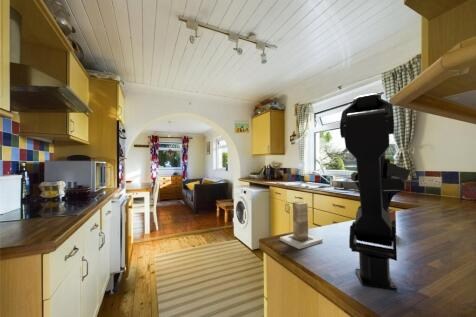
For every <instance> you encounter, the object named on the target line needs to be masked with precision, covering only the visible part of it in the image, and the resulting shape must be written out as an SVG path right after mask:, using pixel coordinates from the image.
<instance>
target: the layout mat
mask: <svg viewBox="0 0 476 317" xmlns="http://www.w3.org/2000/svg"><path fill="white" fill-rule="evenodd" d="M279 241H281V242H283V243H285V244H287V245H289V246H291V247H294V248H295V249H298V250H301V249H304V248H307V247H311V246H314V245H317V244H321V243H323V242H324V241H323V238H321V237H318V236H315V235H312V234H309V233H308V239H304V240H298V239H296V238H294V237H293V233H291V234H287V235H284V236H280V237H279Z"/></svg>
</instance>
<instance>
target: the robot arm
mask: <svg viewBox="0 0 476 317" xmlns="http://www.w3.org/2000/svg"><path fill="white" fill-rule="evenodd" d="M394 115H395V114H394V106H393V104H392V103H390V102H388V101H386V100H385V99H383V98H382V93H378V92H375V93H374V92H373V93H369V94H363V95H358V96H356V97H354V98H353V101H352V103H351V104H350V105H349V106H348V107H346V108H345V109H344V110H343V111H342V113H341V116H340V121H339V122H340V123H339V130H340V131H339V132H340V138H341V139H344V144H345V148H346V149H345V150H346V151H348V152H349V153H350V154H351V155H352V157H353V158H355V161H356V171H353V172H352V173H351V174H350V180H351V181H352V183H353V184H354V186H355V187H356V189H357V191H358V193H359V201H360V202H359V203H360V205H359V206H358V207H357V211H356V213H355V220H353V221H352V223H351V225H350V226H349V236H348V237H349V238H348V239H349V246H348V247H349V249H351V252H353V253H358V255H359V258H358V259H359V262H358V263H359V268H355V270H354V272H355V274H356V275H357V277H358V279H359V281H360V283H361V285H363V286H366V287H367V286H368V287H374V288H379V289H380V288H381V289H388V290H395V291H396V290H398V287H397V285H396V284H395V282H394V281H393V280H392V278H391V272H390V270H391V269H390V260H393V261H396V262H397V261H398V252H397V251H398V250H397V231H396V232H395V226H391V216H390V214H389V210H388V208H390V204H391V202H392V200H393V198H394V196H395V195H397V194H398V193H399V194H400V193H402V192H403V191H405V190H406V189H407V186H406V185H407V184H406V182H407V181H408V179H409V177H410V174H411V172H412V169H409V168H406V167H405V168H404V167H402V166H398V165H397V164H396V163H392V162H391V160H390V159H389V158H387V157H386V151H387V150H388V149H389V147H390V135H394V134H395V116H394ZM373 244H374V245H373ZM378 245H379V246H378ZM384 246H385V247H384ZM389 247H392V248H389Z"/></svg>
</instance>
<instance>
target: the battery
mask: <svg viewBox="0 0 476 317" xmlns="http://www.w3.org/2000/svg"><path fill="white" fill-rule="evenodd" d="M388 210H389V214H390V216H391V226H395V232H396V233H397V218H396V209H391V207H389V208H388Z"/></svg>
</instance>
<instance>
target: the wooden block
mask: <svg viewBox="0 0 476 317" xmlns="http://www.w3.org/2000/svg"><path fill="white" fill-rule="evenodd" d="M308 208H309V207H308V203H307V202H304V201H293V202H292V228H293V229H292V230H293V231H292V232H293V233H292V234H293V237H294V238H296V239H298V240H304V239H308V234H309V219H308V218H309V215H308V214H309V212H308V210H309V209H308Z"/></svg>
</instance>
